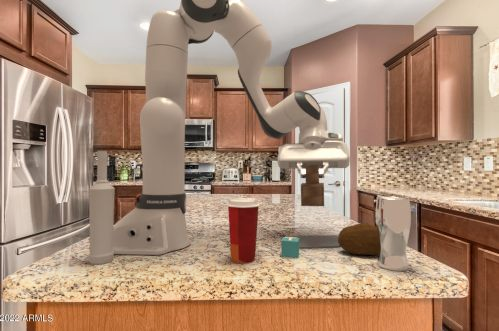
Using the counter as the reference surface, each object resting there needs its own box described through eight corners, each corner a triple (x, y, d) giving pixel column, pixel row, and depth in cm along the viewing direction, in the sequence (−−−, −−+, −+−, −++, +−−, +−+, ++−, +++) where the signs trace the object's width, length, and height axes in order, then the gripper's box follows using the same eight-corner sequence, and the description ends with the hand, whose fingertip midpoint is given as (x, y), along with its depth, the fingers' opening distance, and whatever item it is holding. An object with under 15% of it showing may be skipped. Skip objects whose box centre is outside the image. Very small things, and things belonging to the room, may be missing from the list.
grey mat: (299, 248, 77) (299, 247, 77) (286, 237, 89) (286, 236, 89) (355, 246, 80) (355, 245, 80) (336, 236, 92) (336, 235, 92)
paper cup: (263, 256, 70) (263, 198, 71) (253, 266, 63) (253, 202, 63) (233, 253, 73) (233, 197, 73) (220, 262, 66) (220, 200, 66)
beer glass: (417, 272, 60) (417, 199, 60) (383, 271, 61) (383, 199, 61) (400, 261, 67) (400, 196, 67) (370, 261, 67) (370, 196, 68)
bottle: (94, 257, 69) (95, 151, 69) (117, 257, 69) (118, 151, 69) (84, 265, 63) (85, 150, 64) (109, 264, 64) (110, 150, 64)
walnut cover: (301, 206, 78) (300, 164, 78) (302, 203, 84) (301, 164, 84) (324, 206, 77) (323, 164, 77) (324, 203, 82) (323, 164, 82)
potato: (335, 248, 78) (335, 219, 78) (383, 250, 77) (383, 220, 77) (341, 257, 70) (341, 225, 70) (395, 259, 69) (395, 227, 69)
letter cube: (281, 257, 70) (281, 239, 70) (283, 252, 74) (283, 236, 74) (298, 258, 69) (298, 241, 69) (299, 253, 73) (299, 237, 73)
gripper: (278, 136, 90) (273, 168, 80) (348, 134, 85) (351, 168, 75) (280, 151, 94) (275, 184, 84) (346, 150, 89) (350, 184, 79)
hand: (312, 176), depth 80 cm, fingers closed on walnut cover, 3 cm apart
